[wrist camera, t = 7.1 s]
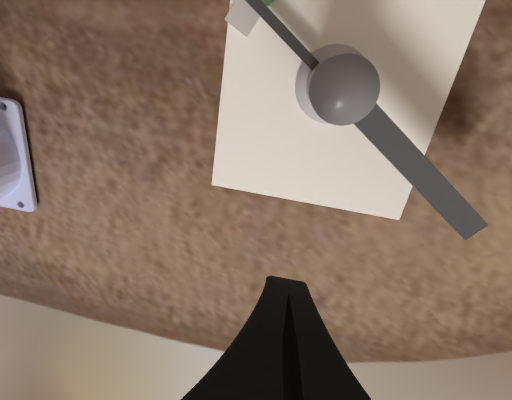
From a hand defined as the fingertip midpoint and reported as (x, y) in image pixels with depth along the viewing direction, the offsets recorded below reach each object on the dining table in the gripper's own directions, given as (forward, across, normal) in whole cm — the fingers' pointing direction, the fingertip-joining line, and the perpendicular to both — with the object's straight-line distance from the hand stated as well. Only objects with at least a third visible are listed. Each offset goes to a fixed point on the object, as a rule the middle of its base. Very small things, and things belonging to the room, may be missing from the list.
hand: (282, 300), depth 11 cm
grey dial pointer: (+9, -2, -6) cm, 11 cm away
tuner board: (+10, -1, -7) cm, 13 cm away
